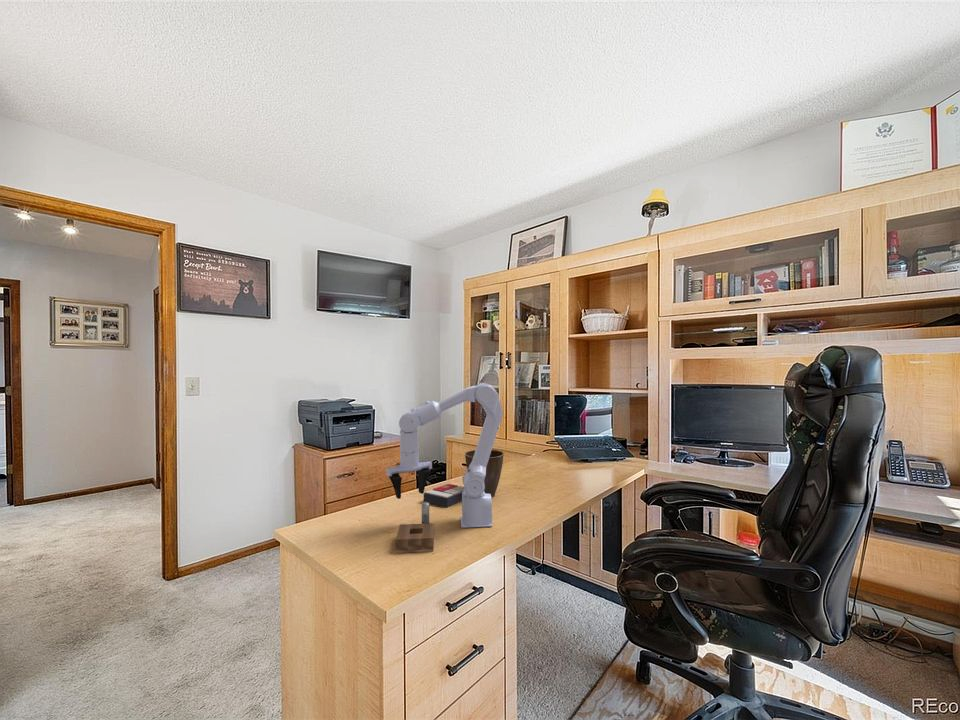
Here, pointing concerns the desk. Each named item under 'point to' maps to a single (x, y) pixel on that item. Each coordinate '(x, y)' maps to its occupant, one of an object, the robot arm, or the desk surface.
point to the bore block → (415, 538)
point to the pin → (425, 512)
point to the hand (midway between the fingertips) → (410, 495)
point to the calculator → (444, 495)
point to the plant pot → (489, 469)
